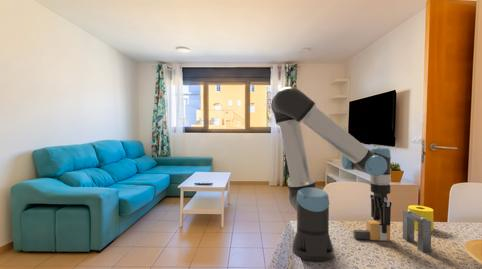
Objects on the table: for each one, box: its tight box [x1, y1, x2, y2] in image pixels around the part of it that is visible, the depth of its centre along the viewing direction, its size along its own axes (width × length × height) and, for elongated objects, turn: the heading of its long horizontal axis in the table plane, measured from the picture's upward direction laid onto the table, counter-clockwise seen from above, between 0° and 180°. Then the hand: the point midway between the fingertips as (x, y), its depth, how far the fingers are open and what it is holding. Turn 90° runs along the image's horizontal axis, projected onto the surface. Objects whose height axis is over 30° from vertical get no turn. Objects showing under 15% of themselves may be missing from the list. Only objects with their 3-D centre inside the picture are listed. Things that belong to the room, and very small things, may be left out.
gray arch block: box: [402, 209, 432, 254], centre depth 103 cm, size 3×13×12 cm, turn 177°
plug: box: [352, 219, 391, 241], centre depth 109 cm, size 14×4×7 cm, turn 87°
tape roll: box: [407, 204, 434, 232], centre depth 122 cm, size 10×10×9 cm
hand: (380, 237), depth 109 cm, fingers closed on plug, 4 cm apart
